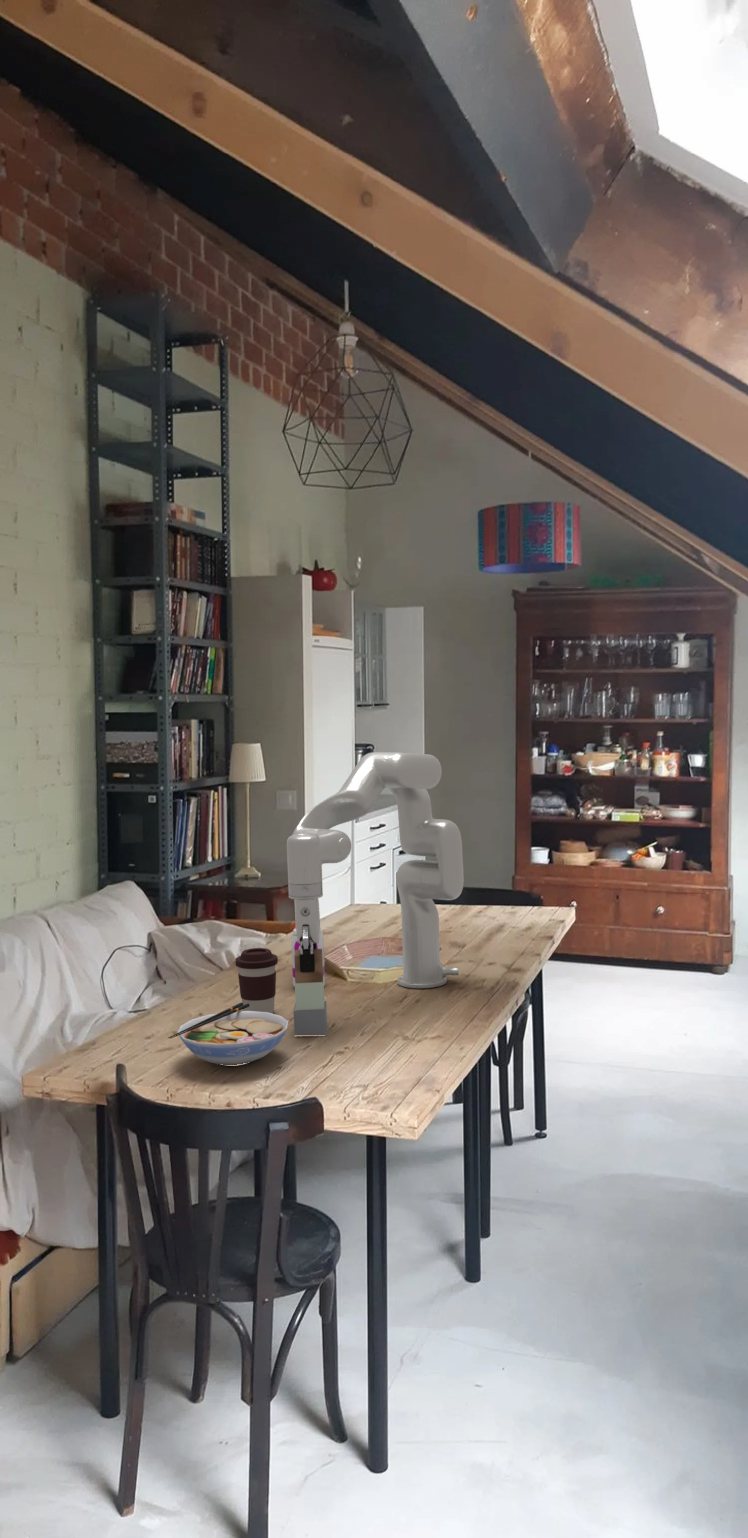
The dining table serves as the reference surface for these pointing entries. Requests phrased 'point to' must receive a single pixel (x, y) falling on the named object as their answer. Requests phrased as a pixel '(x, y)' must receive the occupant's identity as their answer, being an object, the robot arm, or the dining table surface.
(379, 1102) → the dining table surface
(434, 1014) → the dining table surface
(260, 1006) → the coffee cup
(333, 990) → the dining table surface
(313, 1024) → the tower base
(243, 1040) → the ramen bowl
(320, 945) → the supplement can
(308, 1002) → the tower mid
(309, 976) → the walnut cube
